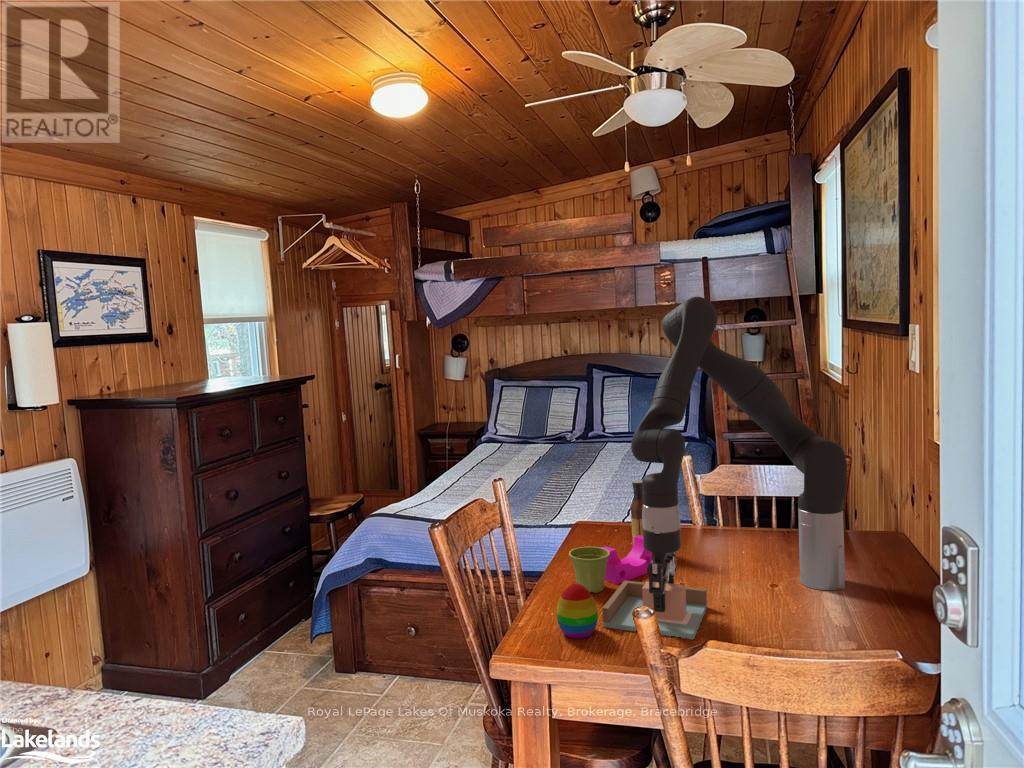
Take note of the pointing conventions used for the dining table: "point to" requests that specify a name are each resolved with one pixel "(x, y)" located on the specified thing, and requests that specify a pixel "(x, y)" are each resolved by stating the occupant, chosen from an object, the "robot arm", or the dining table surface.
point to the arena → (630, 597)
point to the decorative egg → (577, 612)
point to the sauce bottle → (637, 510)
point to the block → (668, 601)
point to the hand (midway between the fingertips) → (664, 603)
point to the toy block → (627, 563)
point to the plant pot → (590, 567)
